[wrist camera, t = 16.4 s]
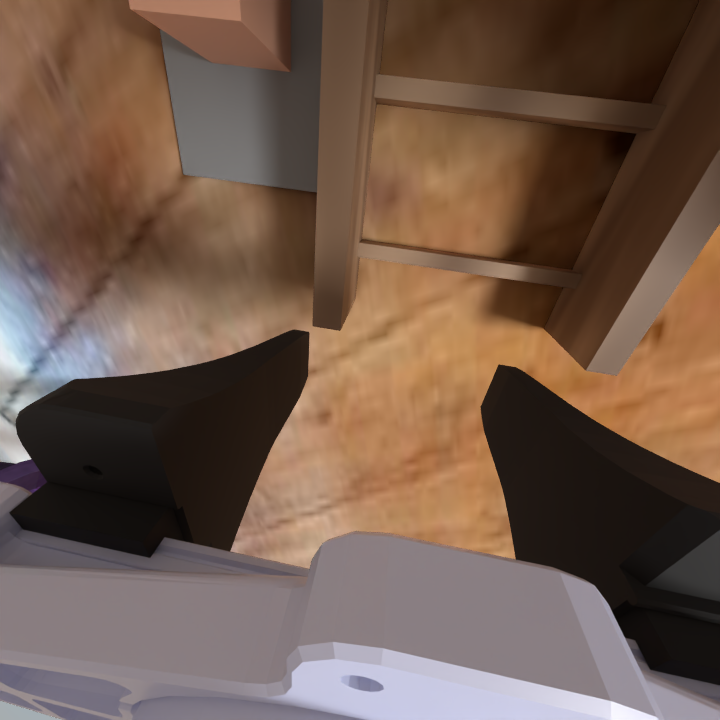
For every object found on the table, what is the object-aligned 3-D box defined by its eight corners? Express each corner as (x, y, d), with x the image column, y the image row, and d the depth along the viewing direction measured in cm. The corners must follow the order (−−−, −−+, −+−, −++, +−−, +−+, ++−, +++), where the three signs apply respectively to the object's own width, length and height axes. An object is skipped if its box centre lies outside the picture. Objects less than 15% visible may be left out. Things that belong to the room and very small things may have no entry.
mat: (365, -283, 10) (364, -301, 9) (336, 194, 17) (334, 194, 17) (114, -292, 10) (104, -309, 10) (187, 174, 17) (183, 174, 17)
